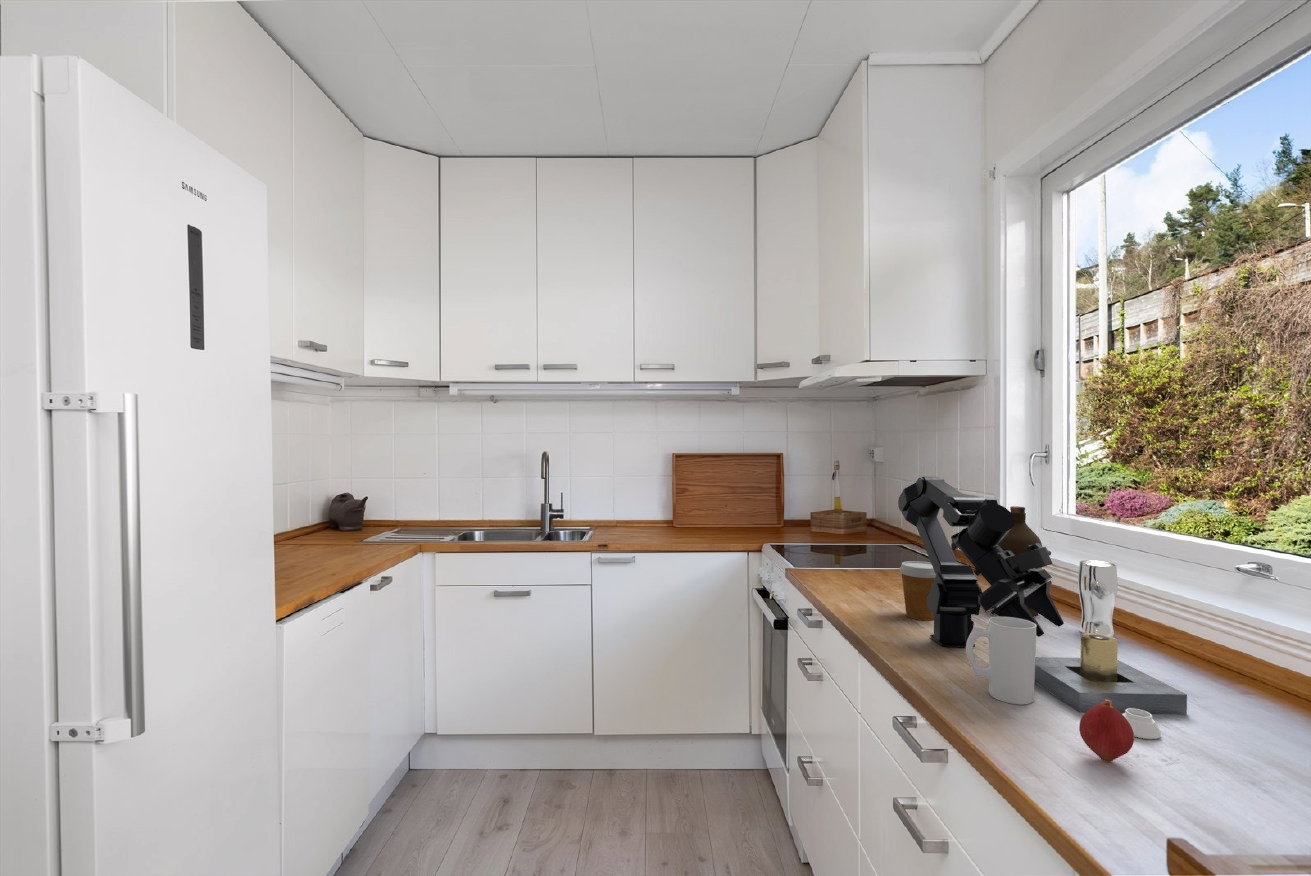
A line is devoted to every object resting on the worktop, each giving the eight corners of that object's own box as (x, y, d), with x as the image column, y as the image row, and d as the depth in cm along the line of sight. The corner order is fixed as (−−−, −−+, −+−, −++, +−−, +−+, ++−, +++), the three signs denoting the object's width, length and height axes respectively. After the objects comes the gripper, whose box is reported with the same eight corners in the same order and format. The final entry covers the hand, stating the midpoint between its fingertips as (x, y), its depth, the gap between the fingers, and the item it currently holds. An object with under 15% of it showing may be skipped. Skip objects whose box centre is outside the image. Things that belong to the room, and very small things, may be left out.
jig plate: (1079, 712, 100) (1079, 692, 100) (1022, 673, 116) (1022, 656, 116) (1186, 714, 99) (1187, 694, 99) (1114, 675, 115) (1114, 658, 115)
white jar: (1161, 732, 93) (1118, 722, 97) (1161, 711, 93) (1118, 702, 97) (1159, 745, 90) (1115, 734, 93) (1160, 723, 90) (1115, 713, 93)
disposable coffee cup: (889, 613, 154) (890, 562, 154) (919, 609, 158) (920, 559, 158) (921, 624, 145) (922, 570, 145) (952, 619, 149) (953, 567, 149)
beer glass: (1123, 639, 136) (1124, 567, 136) (1085, 637, 137) (1086, 565, 137) (1107, 630, 143) (1108, 561, 143) (1071, 627, 144) (1072, 559, 144)
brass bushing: (1092, 698, 105) (1093, 641, 105) (1073, 686, 110) (1074, 632, 110) (1124, 699, 105) (1125, 642, 105) (1103, 687, 110) (1104, 632, 110)
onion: (1068, 750, 87) (1069, 690, 87) (1109, 749, 88) (1110, 689, 88) (1101, 773, 82) (1102, 709, 82) (1145, 771, 82) (1146, 707, 82)
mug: (1030, 692, 107) (1031, 618, 107) (1040, 708, 101) (1041, 630, 101) (962, 684, 111) (963, 612, 110) (968, 699, 104) (969, 623, 104)
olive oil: (984, 610, 157) (986, 506, 157) (1000, 603, 165) (1001, 503, 165) (1033, 620, 150) (1035, 510, 150) (1047, 611, 157) (1049, 507, 157)
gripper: (998, 533, 111) (1071, 613, 102) (1040, 524, 123) (1108, 595, 115) (951, 572, 117) (1016, 650, 109) (995, 560, 129) (1057, 629, 121)
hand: (1052, 630), depth 113 cm, fingers open, 9 cm apart
